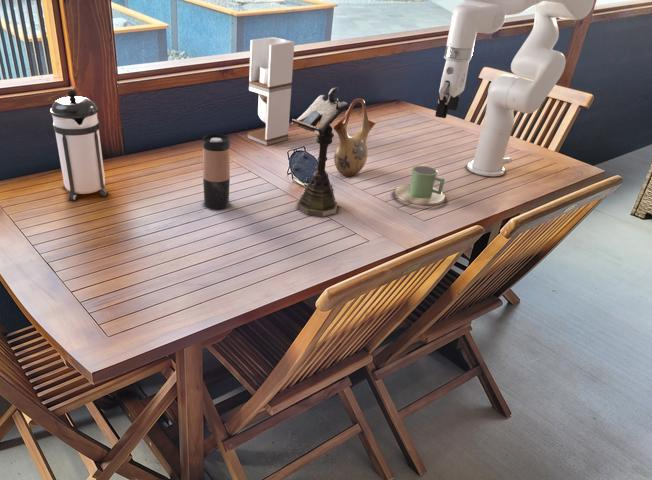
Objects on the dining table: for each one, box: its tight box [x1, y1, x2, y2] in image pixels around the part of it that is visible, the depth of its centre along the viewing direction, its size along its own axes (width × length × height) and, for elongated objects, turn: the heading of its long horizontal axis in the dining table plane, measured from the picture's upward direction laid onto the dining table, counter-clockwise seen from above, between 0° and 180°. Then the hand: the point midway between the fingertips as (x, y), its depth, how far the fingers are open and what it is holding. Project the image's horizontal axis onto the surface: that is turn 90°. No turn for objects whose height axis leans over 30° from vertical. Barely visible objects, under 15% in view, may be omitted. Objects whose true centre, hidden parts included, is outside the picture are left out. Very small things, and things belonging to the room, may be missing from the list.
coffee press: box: [49, 89, 109, 201], centre depth 165 cm, size 17×16×30 cm
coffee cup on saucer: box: [394, 165, 446, 207], centre depth 175 cm, size 15×15×8 cm
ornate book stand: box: [290, 86, 349, 217], centre depth 157 cm, size 17×13×35 cm
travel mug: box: [202, 133, 231, 211], centre depth 163 cm, size 8×8×20 cm
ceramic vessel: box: [333, 97, 376, 177], centre depth 185 cm, size 16×9×25 cm, turn 121°
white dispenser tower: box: [247, 36, 296, 146], centre depth 210 cm, size 11×11×35 cm
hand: (446, 113), depth 173 cm, fingers open, 9 cm apart
